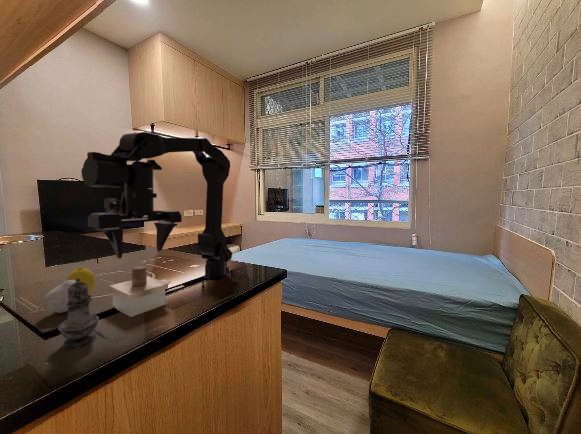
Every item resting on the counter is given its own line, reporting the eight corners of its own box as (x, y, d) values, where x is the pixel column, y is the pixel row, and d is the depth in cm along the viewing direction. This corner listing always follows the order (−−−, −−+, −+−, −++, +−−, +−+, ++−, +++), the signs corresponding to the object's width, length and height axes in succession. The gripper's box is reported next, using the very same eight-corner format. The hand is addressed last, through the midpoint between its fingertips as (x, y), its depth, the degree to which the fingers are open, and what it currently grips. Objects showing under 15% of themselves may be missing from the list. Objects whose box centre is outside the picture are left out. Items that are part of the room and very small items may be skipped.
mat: (164, 280, 81) (164, 279, 81) (184, 287, 76) (184, 286, 76) (130, 289, 73) (130, 288, 73) (151, 298, 67) (151, 296, 67)
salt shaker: (52, 353, 44) (49, 284, 43) (65, 335, 50) (63, 274, 48) (94, 346, 46) (92, 281, 45) (103, 330, 52) (101, 271, 51)
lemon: (79, 303, 63) (78, 271, 62) (61, 300, 64) (60, 269, 63) (100, 295, 68) (99, 265, 68) (83, 292, 70) (82, 263, 69)
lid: (147, 280, 68) (147, 261, 67) (168, 288, 63) (168, 267, 63) (109, 290, 60) (108, 268, 60) (129, 300, 56) (128, 276, 55)
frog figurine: (89, 310, 60) (88, 280, 59) (48, 321, 54) (47, 289, 54) (81, 302, 64) (80, 275, 63) (42, 312, 58) (40, 282, 57)
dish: (147, 298, 68) (146, 281, 67) (165, 306, 63) (165, 288, 63) (112, 309, 61) (112, 290, 60) (130, 319, 57) (130, 299, 56)
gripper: (157, 188, 72) (158, 244, 74) (75, 186, 57) (78, 256, 58) (183, 190, 67) (183, 249, 68) (99, 187, 51) (101, 265, 52)
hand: (140, 254), depth 62 cm, fingers open, 9 cm apart
